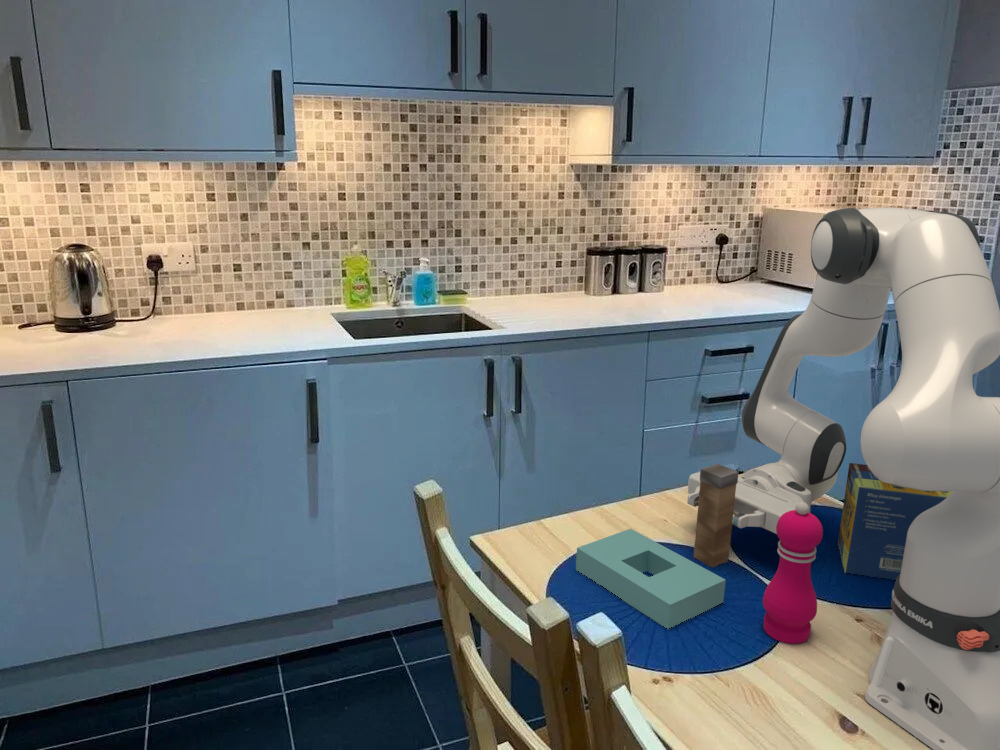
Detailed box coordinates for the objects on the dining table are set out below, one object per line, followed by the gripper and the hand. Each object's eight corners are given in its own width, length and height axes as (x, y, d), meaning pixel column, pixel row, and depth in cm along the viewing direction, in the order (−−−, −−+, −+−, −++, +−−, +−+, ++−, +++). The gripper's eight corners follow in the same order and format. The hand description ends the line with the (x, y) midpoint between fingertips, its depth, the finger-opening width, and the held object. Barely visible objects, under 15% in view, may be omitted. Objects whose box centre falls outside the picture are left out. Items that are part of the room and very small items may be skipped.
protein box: (836, 544, 139) (848, 461, 135) (933, 557, 136) (949, 472, 131) (843, 574, 130) (857, 486, 125) (948, 589, 126) (966, 498, 122)
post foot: (723, 603, 121) (725, 579, 120) (668, 629, 114) (670, 604, 113) (629, 549, 136) (630, 528, 135) (575, 570, 130) (576, 547, 129)
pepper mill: (748, 623, 116) (763, 496, 110) (787, 612, 119) (804, 488, 113) (784, 651, 110) (801, 518, 104) (824, 639, 112) (843, 509, 107)
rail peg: (729, 561, 133) (738, 471, 129) (712, 568, 131) (721, 477, 126) (709, 550, 137) (717, 463, 132) (692, 557, 134) (700, 469, 130)
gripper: (719, 456, 146) (666, 472, 138) (820, 495, 130) (767, 516, 122) (716, 488, 148) (664, 506, 140) (815, 530, 132) (762, 553, 124)
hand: (713, 511), depth 131 cm, fingers open, 8 cm apart
